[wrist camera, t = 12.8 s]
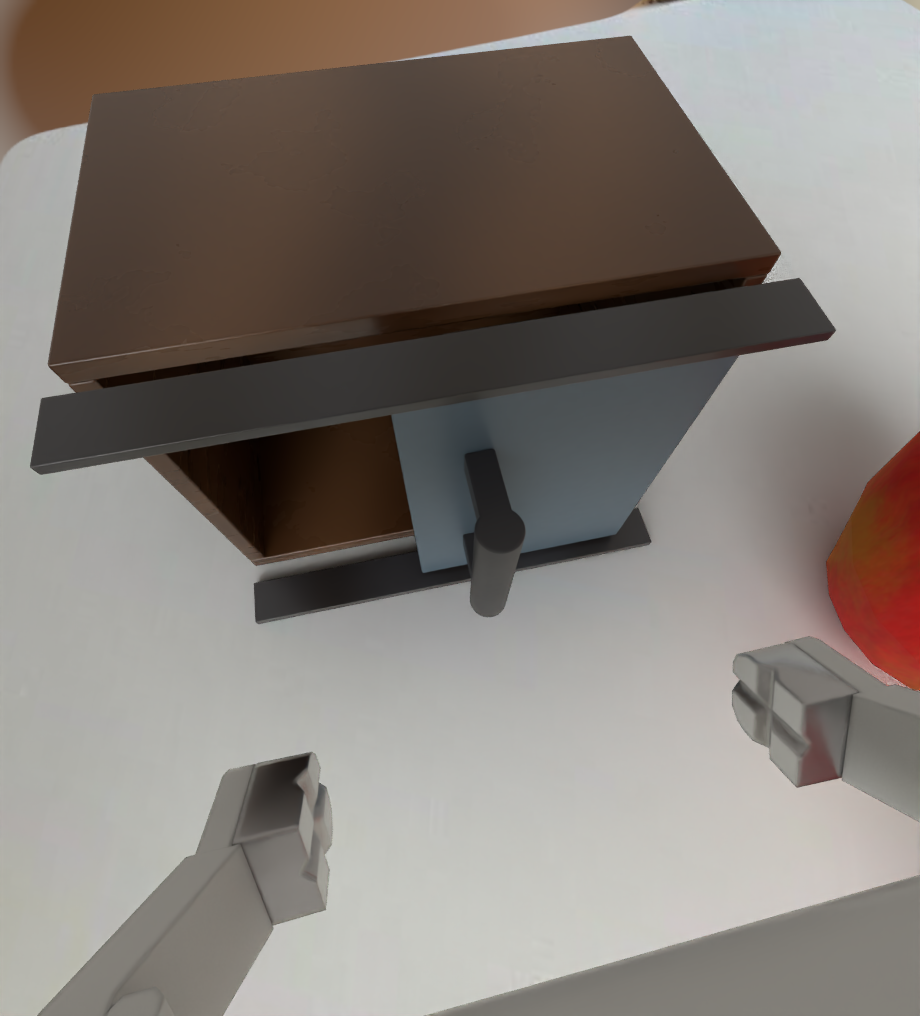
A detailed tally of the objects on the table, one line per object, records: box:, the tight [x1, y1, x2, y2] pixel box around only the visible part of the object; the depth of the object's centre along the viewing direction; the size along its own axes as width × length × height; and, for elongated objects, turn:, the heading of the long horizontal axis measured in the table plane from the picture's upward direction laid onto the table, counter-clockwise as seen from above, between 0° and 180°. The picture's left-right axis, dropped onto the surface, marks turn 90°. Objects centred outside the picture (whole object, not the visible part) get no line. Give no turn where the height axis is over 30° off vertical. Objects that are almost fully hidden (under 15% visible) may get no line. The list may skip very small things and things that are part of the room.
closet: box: [30, 36, 836, 624], centre depth 18 cm, size 16×12×12 cm
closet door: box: [391, 355, 739, 617], centre depth 16 cm, size 8×3×11 cm, turn 102°
